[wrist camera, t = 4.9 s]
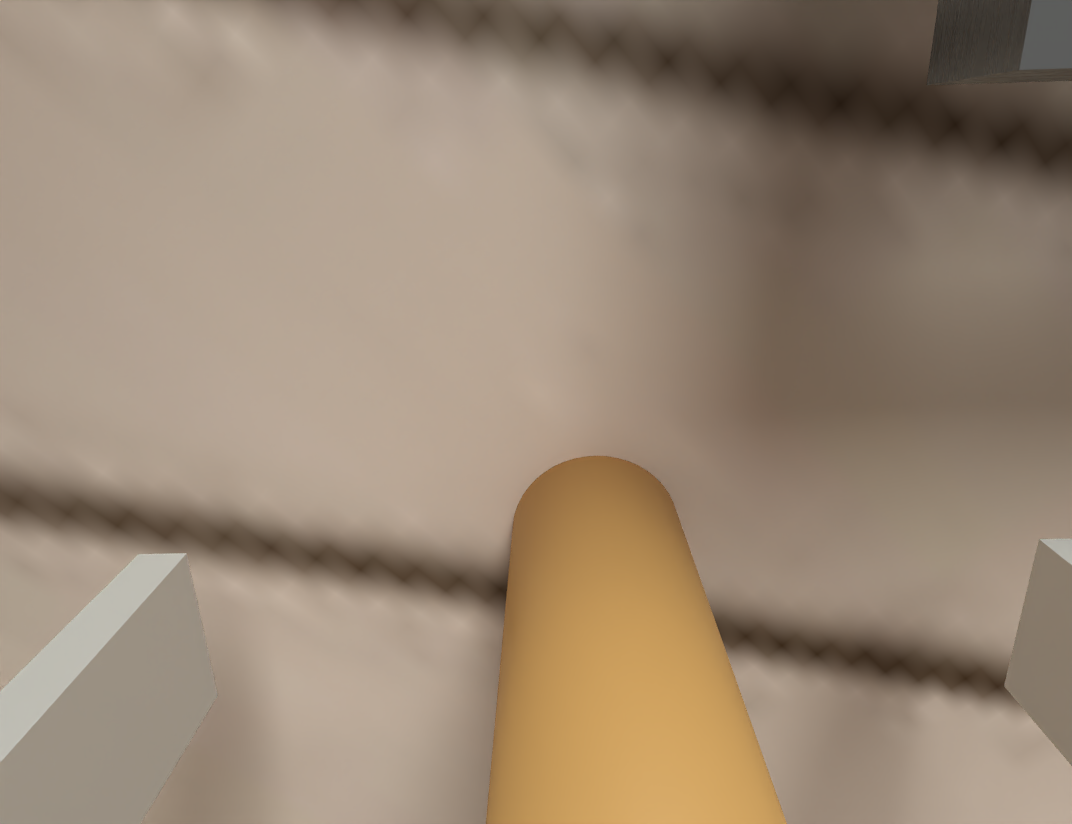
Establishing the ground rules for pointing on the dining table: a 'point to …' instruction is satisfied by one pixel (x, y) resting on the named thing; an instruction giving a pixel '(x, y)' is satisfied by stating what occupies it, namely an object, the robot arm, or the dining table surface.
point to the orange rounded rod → (616, 667)
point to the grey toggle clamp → (1001, 42)
